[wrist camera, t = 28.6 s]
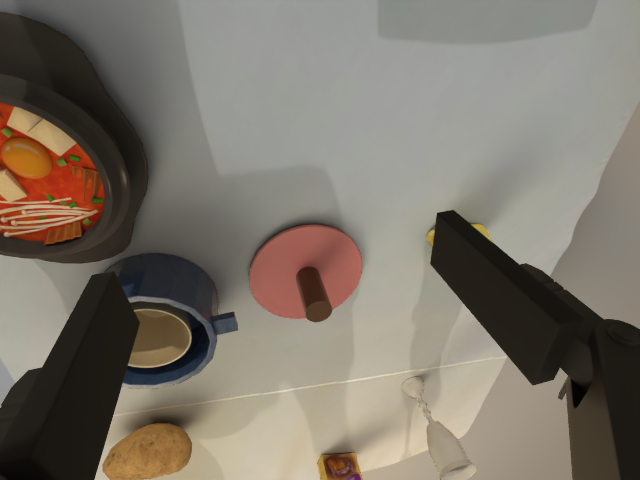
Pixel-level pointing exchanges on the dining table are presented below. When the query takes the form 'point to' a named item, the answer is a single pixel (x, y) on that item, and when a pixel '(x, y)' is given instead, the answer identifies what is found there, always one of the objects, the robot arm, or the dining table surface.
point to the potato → (149, 453)
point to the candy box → (339, 467)
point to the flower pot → (159, 334)
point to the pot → (184, 293)
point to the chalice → (441, 440)
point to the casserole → (62, 152)
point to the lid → (305, 272)
